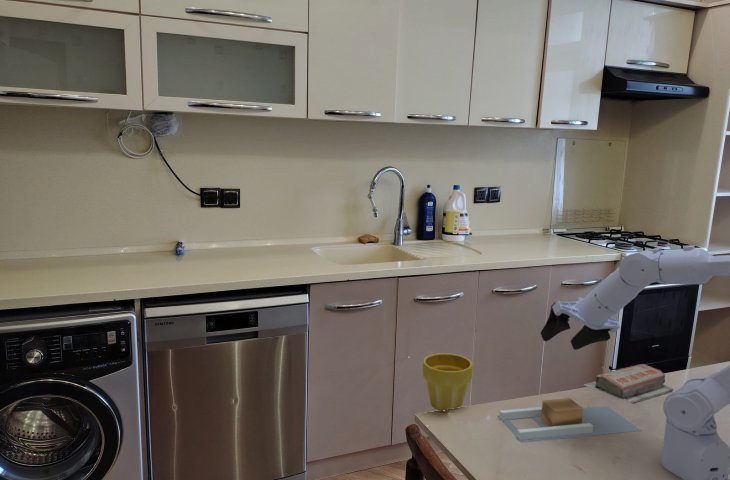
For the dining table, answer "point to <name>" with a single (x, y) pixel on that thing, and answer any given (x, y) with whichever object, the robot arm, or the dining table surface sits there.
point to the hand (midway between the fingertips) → (558, 341)
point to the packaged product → (632, 383)
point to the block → (561, 412)
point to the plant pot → (447, 379)
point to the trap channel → (592, 424)
